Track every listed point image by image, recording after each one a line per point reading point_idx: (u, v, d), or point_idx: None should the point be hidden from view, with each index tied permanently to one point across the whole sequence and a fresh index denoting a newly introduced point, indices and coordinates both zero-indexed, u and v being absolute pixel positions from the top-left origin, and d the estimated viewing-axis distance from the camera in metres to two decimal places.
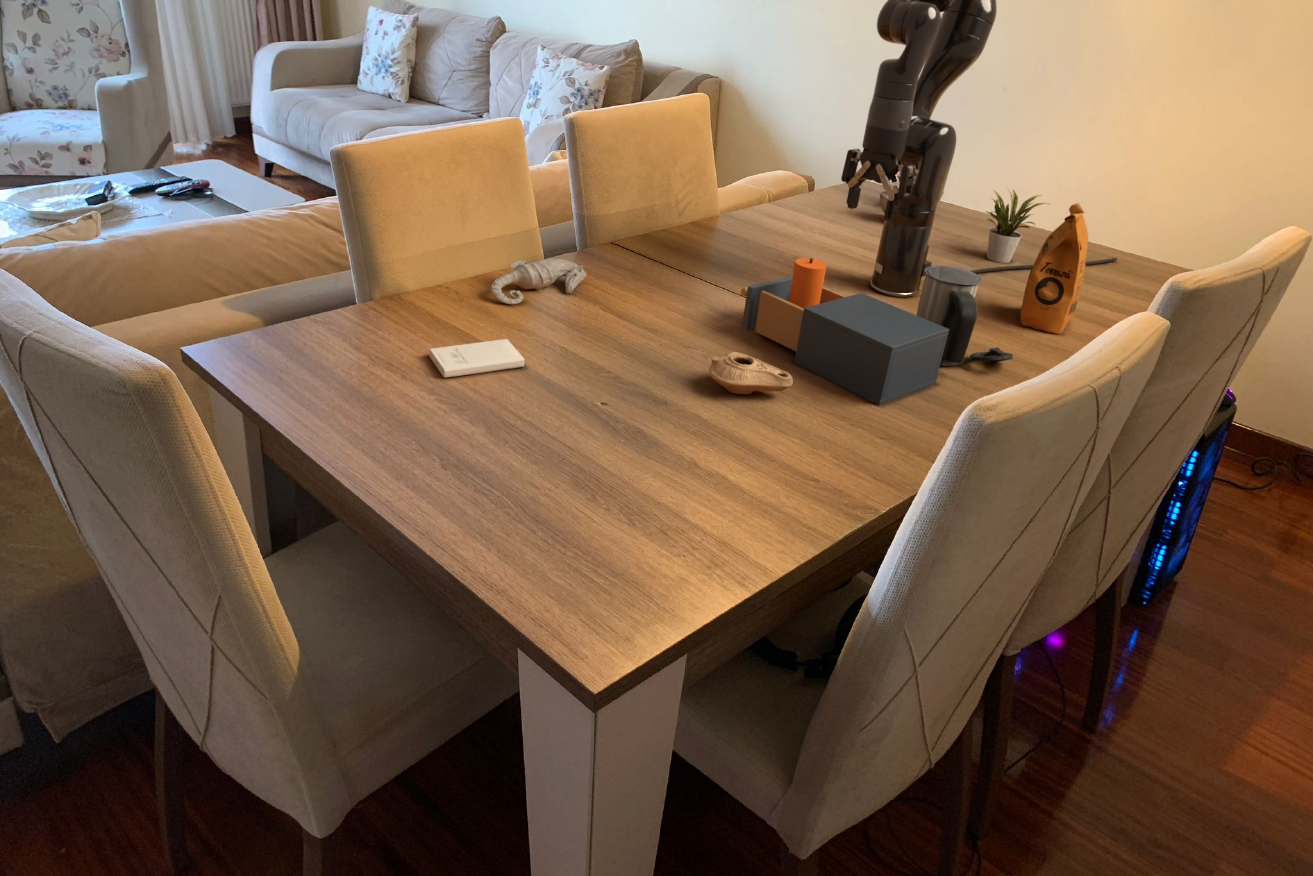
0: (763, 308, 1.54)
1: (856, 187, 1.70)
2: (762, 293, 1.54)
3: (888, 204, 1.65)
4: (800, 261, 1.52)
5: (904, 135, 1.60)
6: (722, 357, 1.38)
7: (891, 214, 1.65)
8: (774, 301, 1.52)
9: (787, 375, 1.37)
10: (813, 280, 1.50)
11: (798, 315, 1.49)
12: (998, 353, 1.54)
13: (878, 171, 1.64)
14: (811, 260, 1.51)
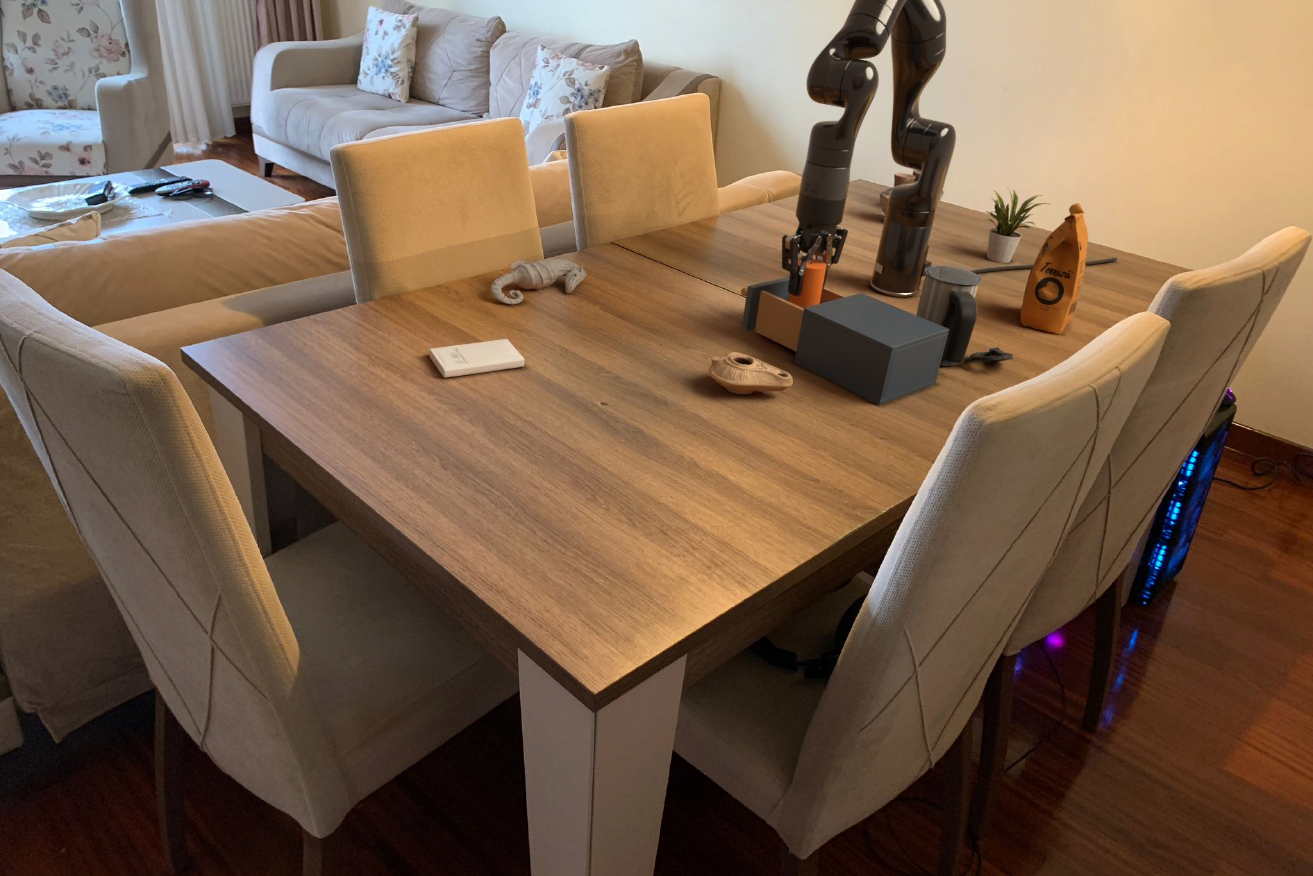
0: (763, 308, 1.54)
1: None
2: (762, 293, 1.54)
3: None
4: (800, 261, 1.52)
5: (806, 202, 1.44)
6: (722, 357, 1.38)
7: None
8: (774, 301, 1.52)
9: (787, 375, 1.37)
10: (813, 280, 1.50)
11: (798, 315, 1.49)
12: (998, 353, 1.54)
13: None
14: None
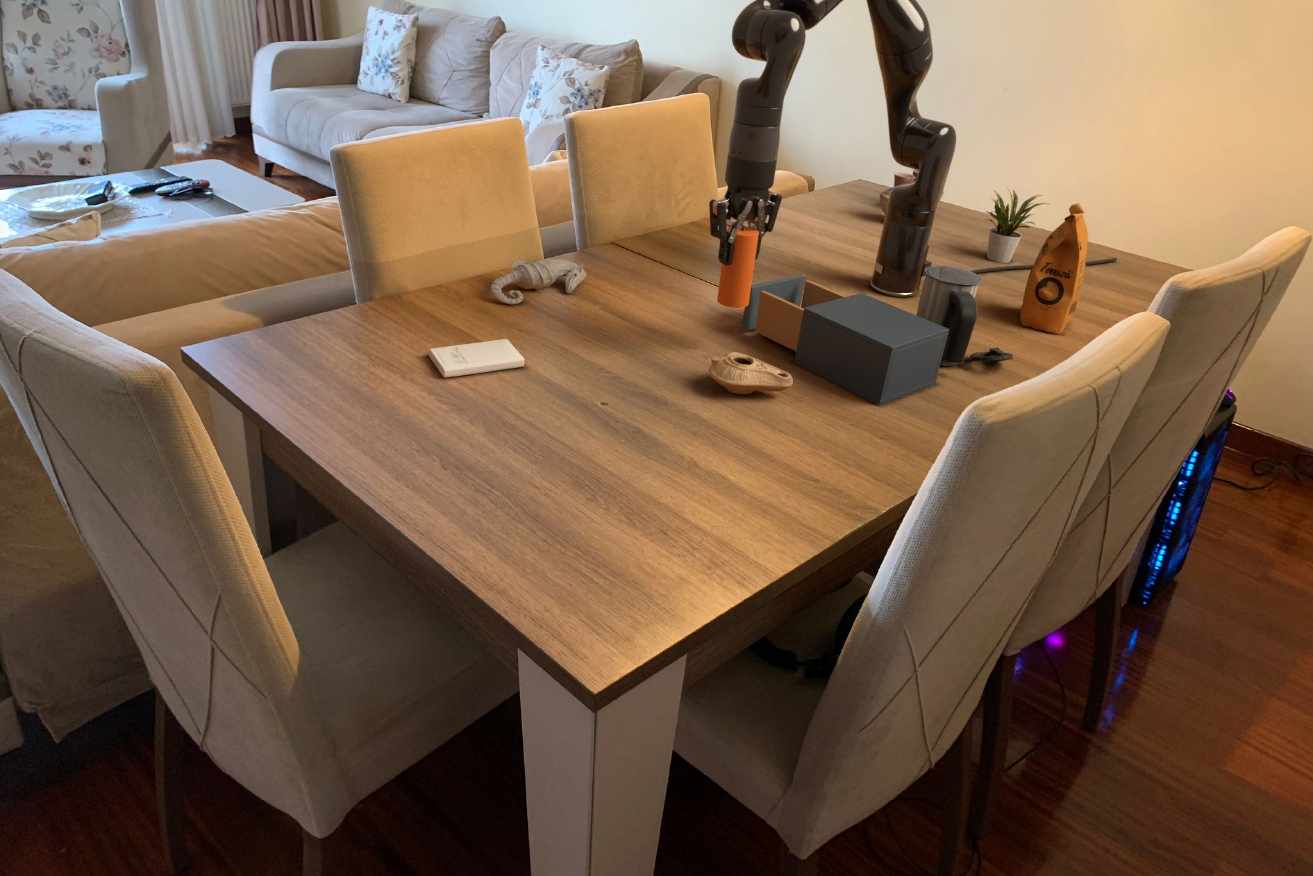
0: (763, 308, 1.54)
1: None
2: (762, 293, 1.54)
3: None
4: None
5: (734, 164, 1.36)
6: (722, 357, 1.38)
7: (719, 255, 1.44)
8: (774, 301, 1.52)
9: (787, 375, 1.37)
10: (744, 248, 1.43)
11: (798, 315, 1.49)
12: (998, 353, 1.54)
13: None
14: (742, 227, 1.43)
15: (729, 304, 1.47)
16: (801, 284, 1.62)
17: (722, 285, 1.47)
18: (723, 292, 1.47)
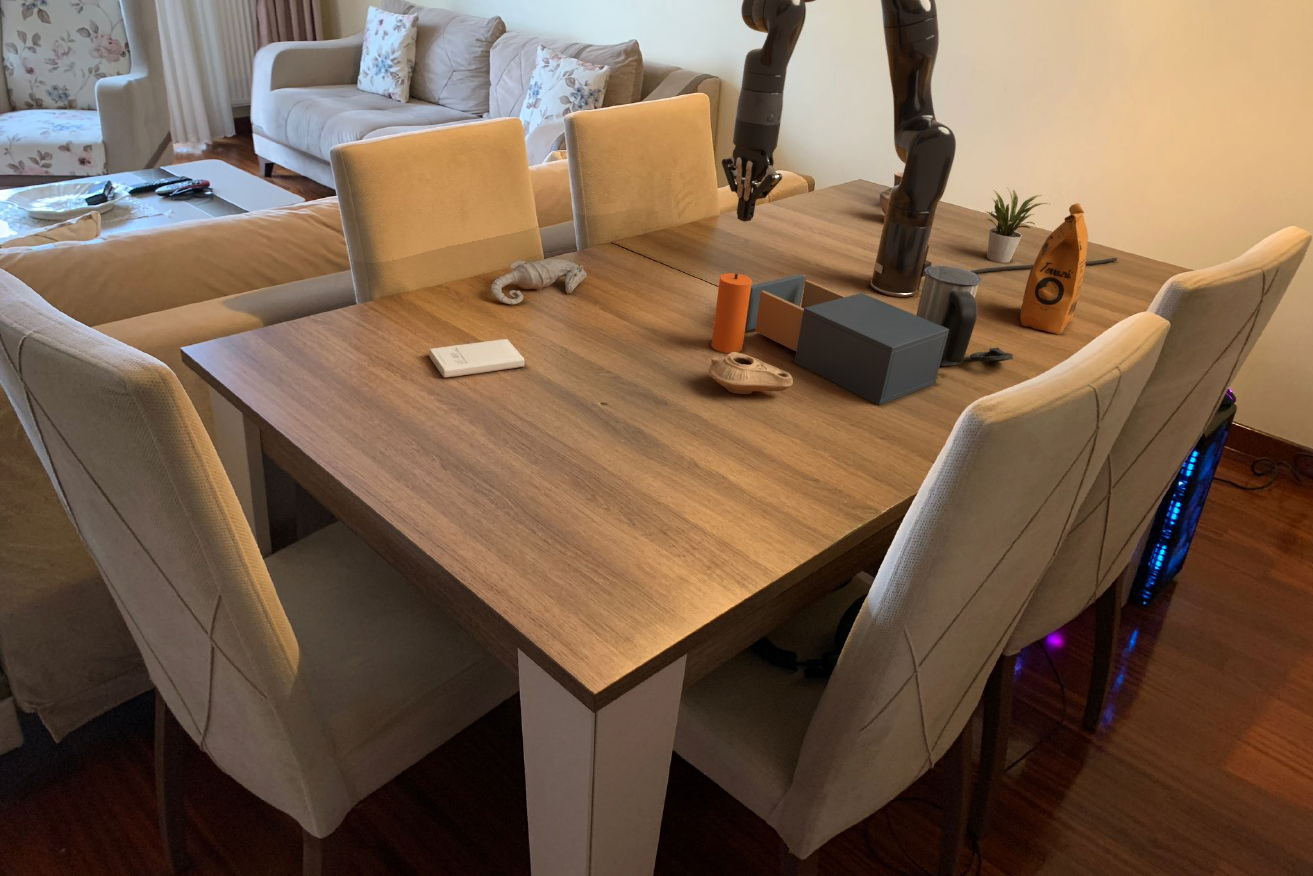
0: (763, 308, 1.54)
1: None
2: (762, 293, 1.54)
3: (743, 204, 1.58)
4: (724, 277, 1.48)
5: (774, 130, 1.51)
6: (722, 357, 1.38)
7: (747, 214, 1.59)
8: (774, 301, 1.52)
9: (787, 375, 1.37)
10: (737, 297, 1.47)
11: (798, 315, 1.49)
12: (998, 353, 1.54)
13: (747, 167, 1.54)
14: (736, 276, 1.47)
15: (723, 349, 1.51)
16: (801, 284, 1.62)
17: (716, 331, 1.51)
18: (717, 338, 1.51)
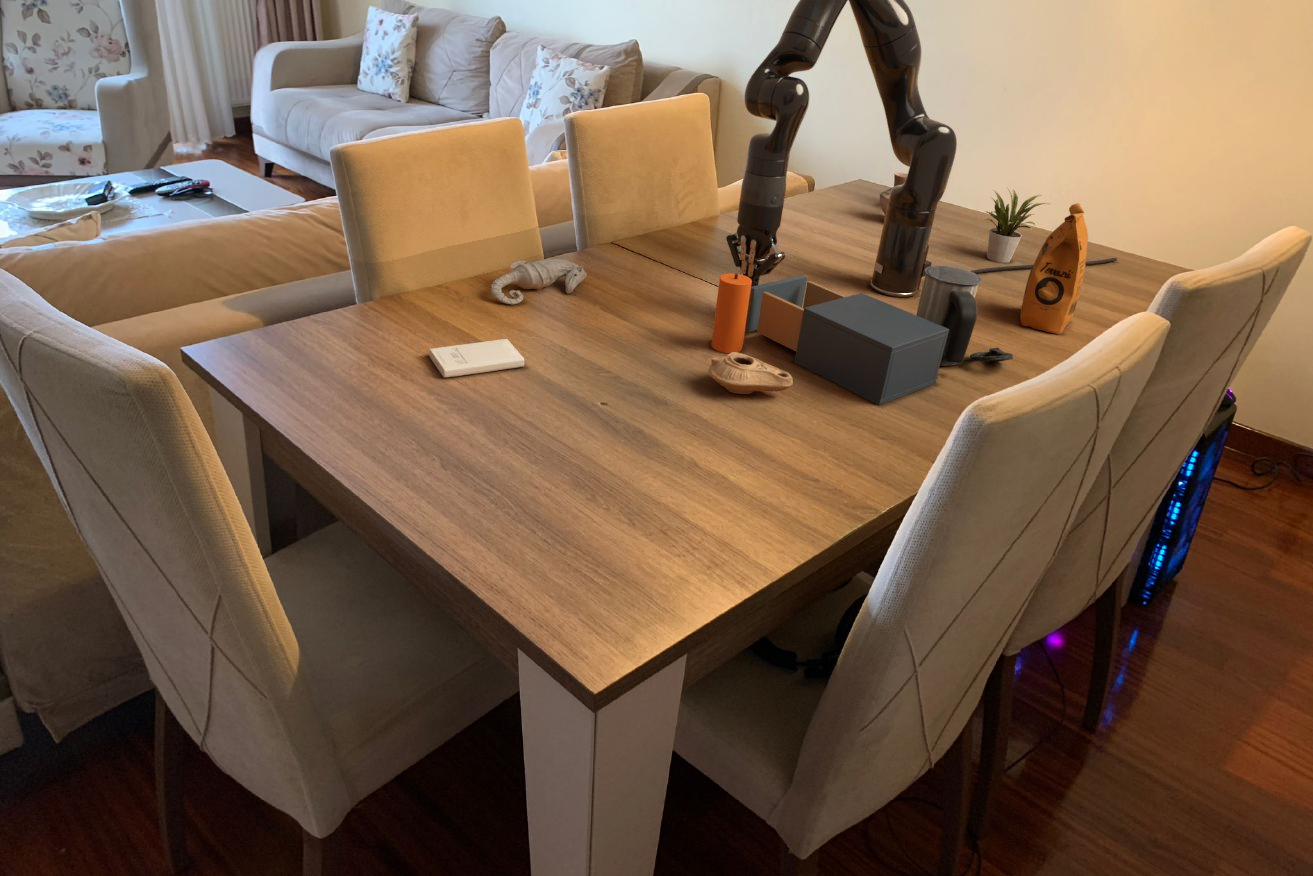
0: (765, 309, 1.54)
1: None
2: (764, 294, 1.53)
3: None
4: (724, 277, 1.48)
5: (777, 211, 1.55)
6: (722, 357, 1.38)
7: None
8: (776, 302, 1.52)
9: (787, 375, 1.37)
10: (737, 297, 1.47)
11: (800, 316, 1.48)
12: (998, 353, 1.54)
13: (751, 245, 1.58)
14: (736, 276, 1.47)
15: (723, 349, 1.51)
16: (803, 285, 1.62)
17: (716, 331, 1.51)
18: (717, 338, 1.51)
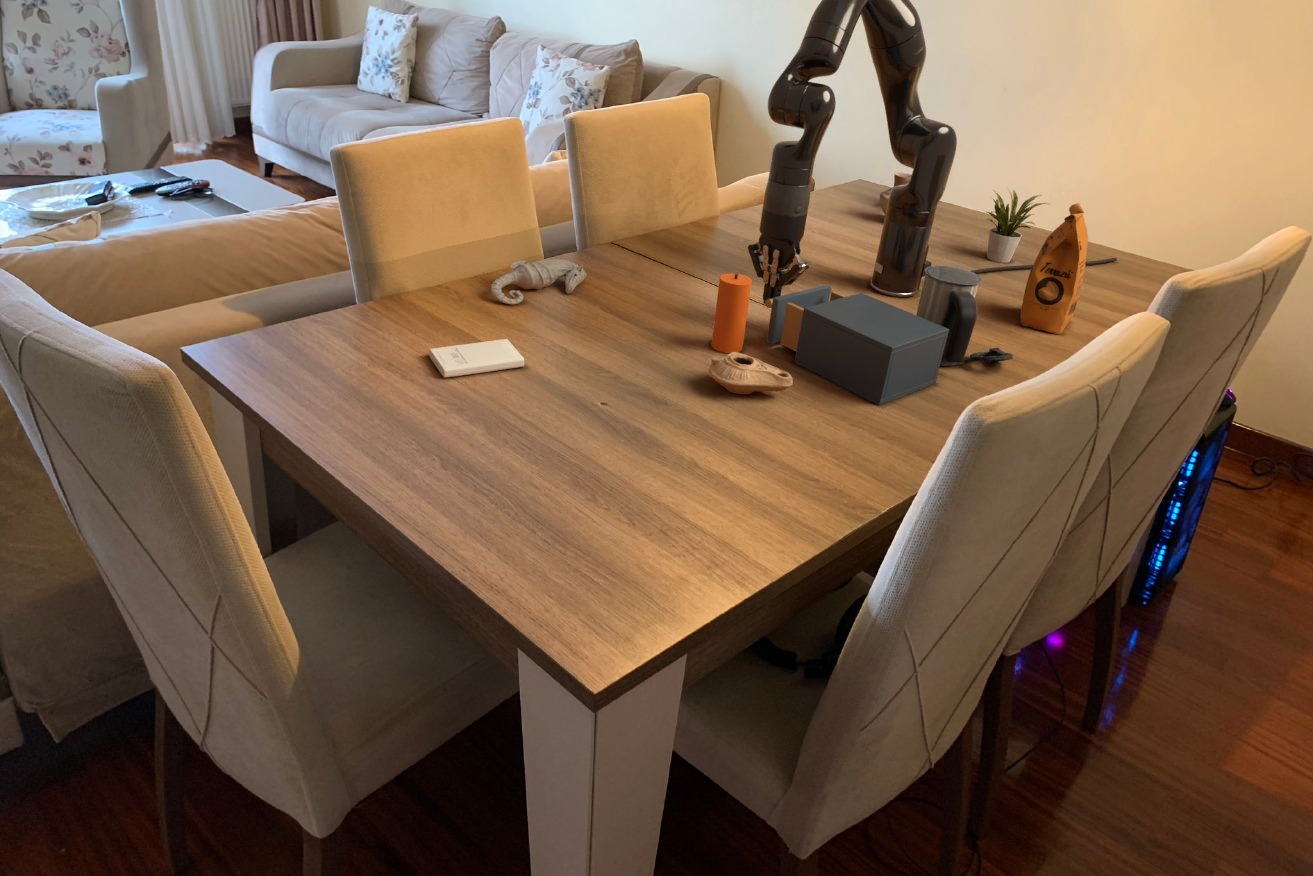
0: (789, 320, 1.50)
1: None
2: (788, 305, 1.50)
3: (770, 290, 1.59)
4: (724, 277, 1.48)
5: (801, 221, 1.51)
6: (722, 357, 1.38)
7: None
8: (801, 313, 1.48)
9: (787, 375, 1.37)
10: (737, 297, 1.47)
11: None
12: (998, 353, 1.54)
13: (774, 255, 1.55)
14: (736, 276, 1.47)
15: (723, 349, 1.51)
16: (827, 295, 1.58)
17: (716, 331, 1.51)
18: (717, 338, 1.51)
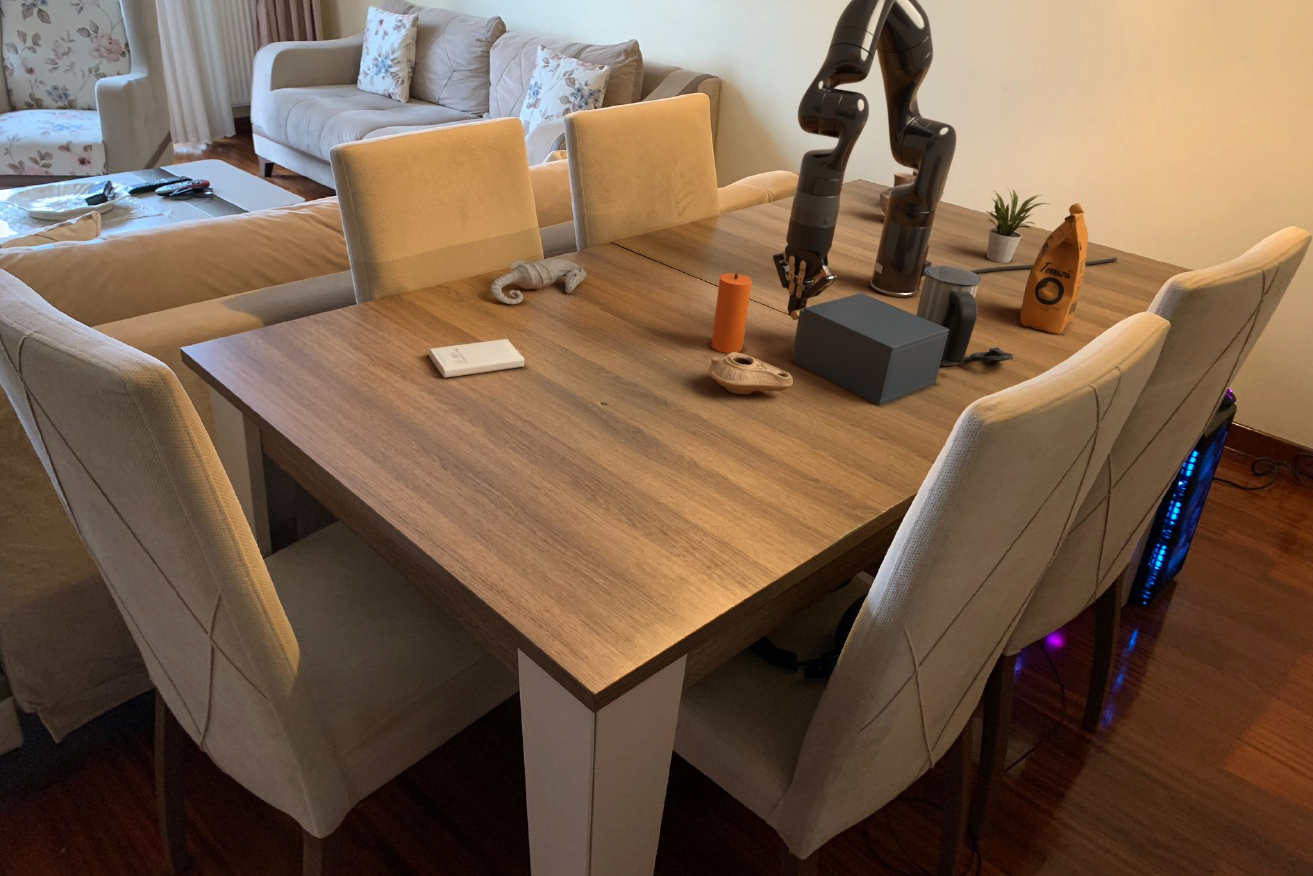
0: None
1: None
2: None
3: (795, 301, 1.55)
4: (724, 277, 1.48)
5: (829, 232, 1.47)
6: (722, 357, 1.38)
7: None
8: None
9: (787, 375, 1.37)
10: (737, 297, 1.47)
11: None
12: (998, 353, 1.54)
13: (801, 267, 1.51)
14: (736, 276, 1.47)
15: (723, 349, 1.51)
16: None
17: (716, 331, 1.51)
18: (717, 338, 1.51)
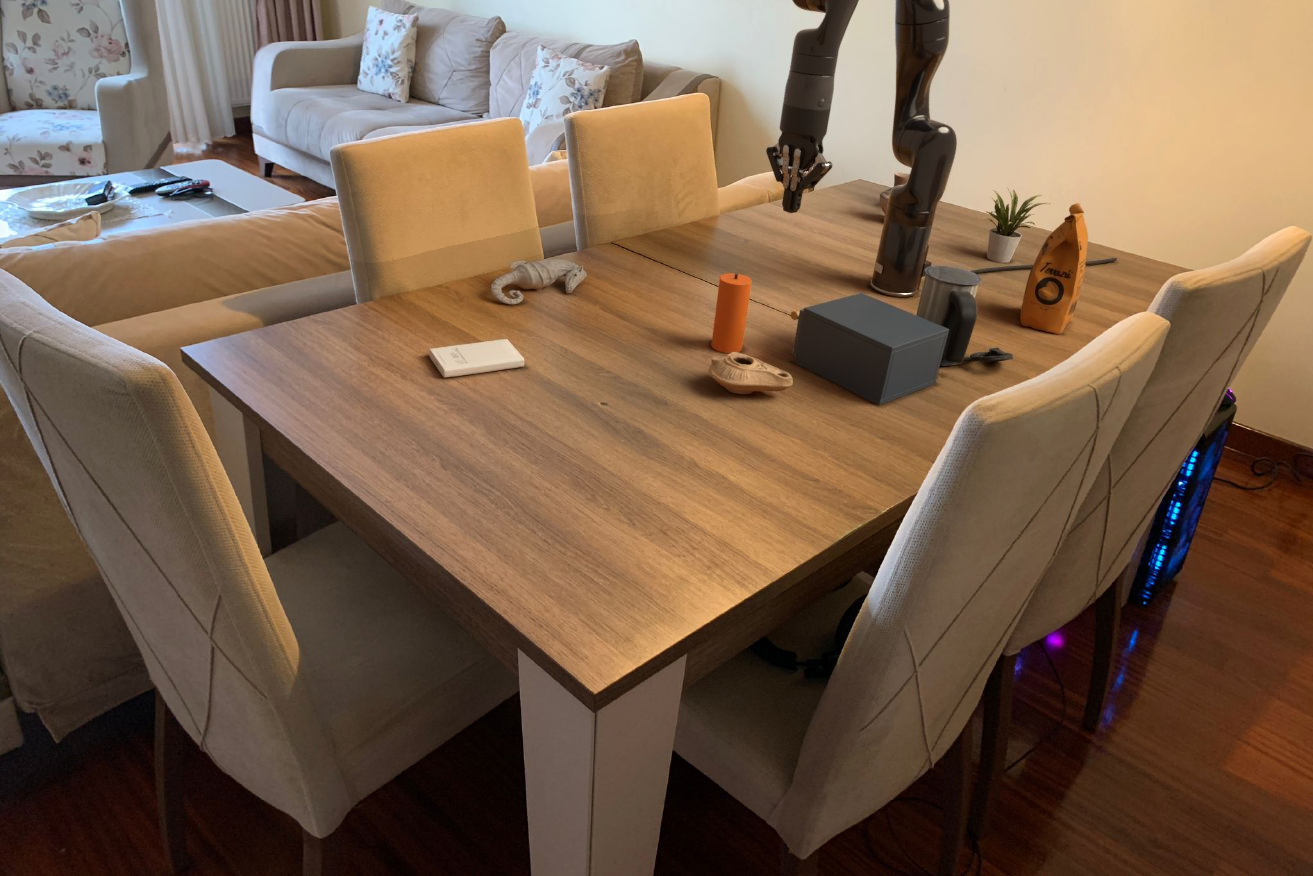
0: None
1: None
2: None
3: (790, 194, 1.50)
4: (724, 277, 1.48)
5: (824, 115, 1.42)
6: (722, 357, 1.38)
7: (794, 206, 1.50)
8: None
9: (787, 375, 1.37)
10: (737, 297, 1.47)
11: None
12: (998, 353, 1.54)
13: (795, 155, 1.46)
14: (736, 276, 1.47)
15: (723, 349, 1.51)
16: None
17: (716, 331, 1.51)
18: (717, 338, 1.51)
